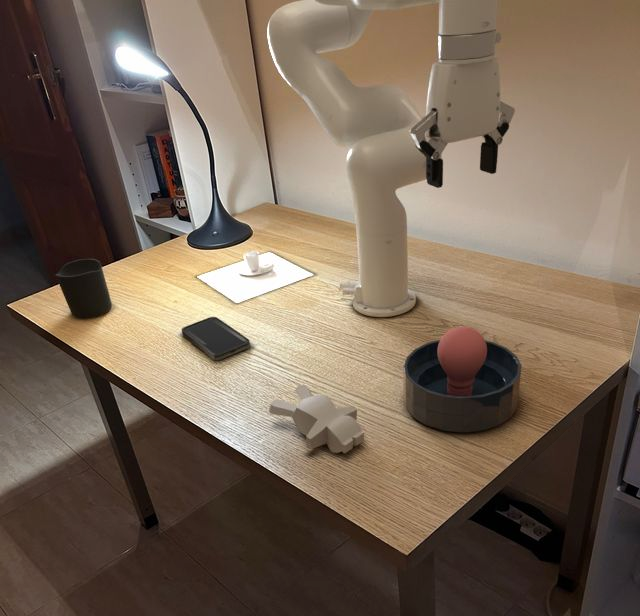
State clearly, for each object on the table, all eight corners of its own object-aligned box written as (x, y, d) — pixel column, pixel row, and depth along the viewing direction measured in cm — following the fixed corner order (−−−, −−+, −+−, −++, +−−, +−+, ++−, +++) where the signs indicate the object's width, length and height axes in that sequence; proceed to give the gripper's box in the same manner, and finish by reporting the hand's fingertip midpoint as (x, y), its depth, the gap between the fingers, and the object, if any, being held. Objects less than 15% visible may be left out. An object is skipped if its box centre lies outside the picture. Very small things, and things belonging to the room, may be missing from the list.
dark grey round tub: (394, 428, 94) (393, 392, 90) (415, 368, 106) (415, 334, 103) (513, 440, 89) (517, 403, 85) (520, 376, 102) (524, 341, 98)
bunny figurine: (330, 446, 85) (260, 396, 94) (330, 473, 89) (263, 422, 97) (378, 415, 90) (307, 370, 98) (376, 441, 93) (308, 395, 102)
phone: (214, 315, 127) (251, 341, 117) (215, 320, 128) (252, 346, 118) (178, 329, 124) (214, 356, 114) (180, 334, 125) (215, 362, 114)
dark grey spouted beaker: (122, 307, 138) (108, 264, 132) (84, 324, 133) (68, 280, 127) (100, 297, 143) (86, 255, 137) (62, 314, 138) (46, 271, 132)
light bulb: (473, 416, 93) (477, 345, 86) (429, 405, 97) (429, 336, 90) (490, 392, 98) (495, 322, 91) (447, 382, 101) (449, 314, 94)
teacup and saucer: (280, 270, 146) (277, 253, 143) (250, 281, 143) (247, 264, 140) (261, 260, 152) (258, 244, 149) (232, 270, 149) (229, 254, 146)
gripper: (500, 37, 90) (492, 162, 101) (396, 56, 85) (399, 185, 95) (536, 39, 85) (524, 171, 95) (427, 59, 80) (427, 197, 90)
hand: (461, 178), depth 95 cm, fingers open, 9 cm apart
